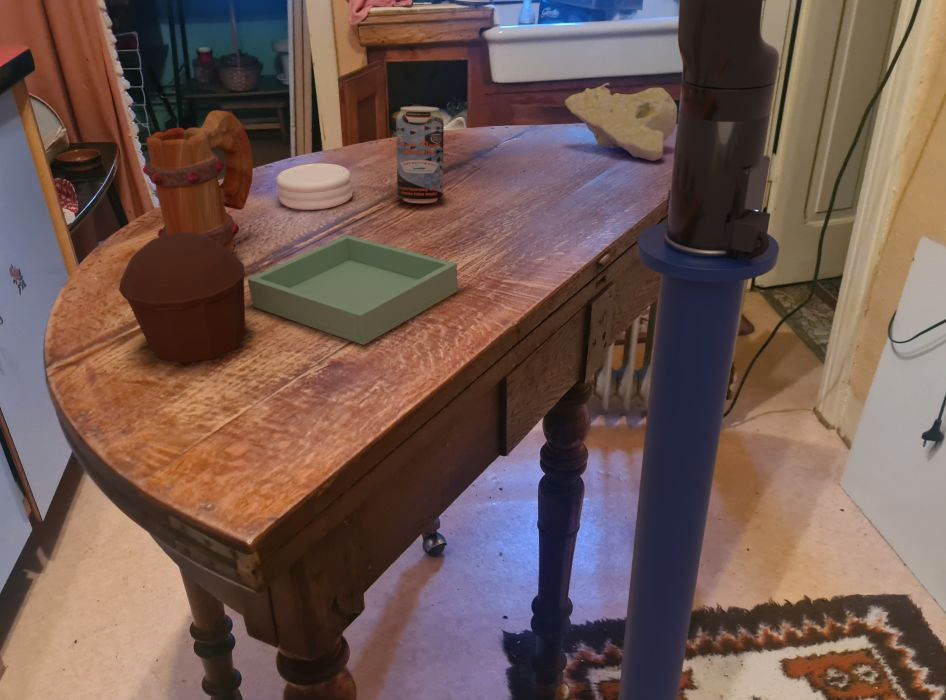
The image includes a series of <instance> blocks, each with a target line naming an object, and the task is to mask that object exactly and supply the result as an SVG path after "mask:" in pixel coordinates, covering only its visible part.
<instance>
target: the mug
mask: <svg viewBox="0 0 946 700" xmlns="http://www.w3.org/2000/svg"><path fill="white" fill-rule="evenodd" d="M146 147H147V151H148V156H149V162H148V163H146V164H145V165H144V166H143V168H142V172H143V173H144V174H145V175H146V176H148V178H149V180H150V182H151V183H152V184H154V185H155V189H156V194H157V199H158V203H159V206H160V211H161V215H162V218H163V223H164V226H163V227H162V228H160V229H158V231H157V236H158V237H161V236H163V235H168V234H174V233H194V234H199V235H202V236H205V237H208V238H210V239H212V240H214V241H216V242H218V243H219V244H221V245H223V246H224V247H225V248H227V249H228V250H229V251H230V252H231V253H232V254H233V252H234V249H235V244H234V238H235V237H236V235H237V234H238V233H239V231H240V226H239V224H238V223H236V222H234V219H233V216H232V215H231V214H230V213H228V212H227V210H226V208H228V209H234V210H238V211H239V210H243V209H244V208H245V205H246V203H247V200H248V197H249V195H250V189H251V186H252V184H253V175H254V173H253V172H254V171H253V170H254V169H253V154H252V146H251V142H250V139H249V136H248V135H247V132H246V130H245V128H244V126H243V125H242V123H241V122H240V120H239V119H238V118H237V117H236V116H235V115H234V114H233V113H232V112H230V111H227V110H219V109H218V110H217V109H216V110H211V111H210V112H209V113H208V114H207V115H206V117H205V120H204V122H203V124H202V126H201V127H188V128H187V129H184V128H183V127H173V128H168V129H167V130H166V131H165V132H163V131H156V132H154V133H153V134H152V135H149V137H148V136H147V137H146ZM213 148H215V149H217V150H220V151H221V152H223V153H224V161H225V163H224V162H223V161H222V160H220V159H219V156H218V155H217V154H216V153H215V152H214V151H212V150H213ZM224 169H225V171H224V178H223V180H222V183H221V184H220V182H219V179H218V176H219V175H220V173H221V172H223V170H224Z"/></svg>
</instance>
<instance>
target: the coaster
mask: <svg viewBox="0 0 946 700" xmlns="http://www.w3.org/2000/svg"><path fill="white" fill-rule="evenodd" d="M351 174H352V173H351V171H350V170H349V169H348V168H346V167H345V166H343V165H339V164H334V163H307V164H301V165H295V166H292V167H289V168H287V169H284V170H282V171H281V172H279V173H278V175H277V176H276V178H275V179H276V180H275V182H276V184H277V192H278V200H279V202H280V203H281V204H282V205H283V206H284V207H287V208H289V209H293V210H301V211H302V210H303V211H313V210H315V211H316V210H324V209H330V208H335V207H338V206H341V205H343V204H345V203H346V202H348V201H349V200H350V199H351V198H352V197H353V194H354V190H353V189H352V187H353V186H352V185H353V182H352V180H351V178H352V175H351Z"/></svg>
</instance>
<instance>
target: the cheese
mask: <svg viewBox="0 0 946 700" xmlns="http://www.w3.org/2000/svg"><path fill="white" fill-rule="evenodd" d="M605 86H610V82H606V83H604V84H602V85H600V86H597V87H595V88H589V87H585V89H584V91H582V92H579V93H575V94H572V95H570V96H568V97H567V98H566V99H564V105H565V106H566V108H567V109H568V110H569V112H570V113H571V114H573V115H575V117H577V118H578V119H579V120H581V121H582V122H583V123H584V124H585V125H586V126H587V129H588V130H589V131H590V132H591V133H592V134H593V137H594V138H595V141H596V143H597V145H598V147H599V148H601V149H603V148H606V147H610V149H616V148H622V149H624V150H625V151H627V152H628V153H629V154H630V155H631V156H632V157H633V158H635V159H637V158H639V159H645V160H647V161H650V162H654V161H658V160H660V159H661V158H662V157H663V154H664V147H665V141H666V140H668V139H669V137H670V136H671V135H672V134H673V133H674V131H675V128H676V126H677V120H678V106H677V104H676V102H675V101H674V100H673V98H672V96H671V94H670V93H668V92H667V91H666V90H665V89H664V88H663V87H649V88H646V89H644V90H642V91H640V92H637V93H633V94H631V93H630V94H629V93H628V94H625V93H623V94H622V93H618V92H615V93H613V94H611V91H610V89H609V88H607V87H605Z"/></svg>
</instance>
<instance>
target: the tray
mask: <svg viewBox="0 0 946 700" xmlns="http://www.w3.org/2000/svg"><path fill="white" fill-rule="evenodd" d="M247 283H248V289H249V294H250V301H251V304H252V308H255V309H258V310H262V311H264V312H267V313H270V314H273V315H275V316H279V317H282V318H284V319H287V320H290V321H293V322H296V323H299V324H302V325H304V326H307V327H310V328H313V329H315V330H318V331H322V332H325V333H327V334H330V335H333V336H336V337H338V338H342V339H344V340H347V341H350V342H354V343H356V344H359V345H362V346H366V345H367V344H369V343H370V342H372V341H374V340H375V339H377V338H379V337H381V336H383V335H384V334H387V333H388V332H390V331H391V330H393V329H395V328H397V327H399V326H400V325H402V324H403V323H405V322H407V321H408V320H410V319H412V318H414V317H416V316H417V315H419V314H420V313H423V312H424V311H426V310H428V309H430V308H431V307H433V306H435V305H436V304H438V303H440V302H441V301H443V300H445V299H447V298H449V297H450V296H452V295H455V294H456V293H457V292H458V291H459V287H458V286H459V285H458V265H457V263H456V262H452V261H448V260H446V259H445V260H444V259H440V258H437V257H432V256H428V255H426V254H422V253H417V252H413V251H411V250H406V249H402V248H400V247H394V246H391V245H387V244H383V243H379V242H376V241H372V240H367V239H364V238H360V237H356V236H352V235H348V234H346V235H344V236H341V237H339V238H337V239H334V240H332V241H330V242H328V243H326V244H322V245H320V246H319V247H316V248H314V249H312V250H310V251H307V252H305V253H302V254H300V255H298V256H296V257H294V258H292V259H289V260H287V261H285V262H282V263H280V264H278V265H276V266H273V267H270V268H269V269H267V270H264V271H262V272H259V273H257V274H255V275H253V276H251V277H248V278H247Z"/></svg>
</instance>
